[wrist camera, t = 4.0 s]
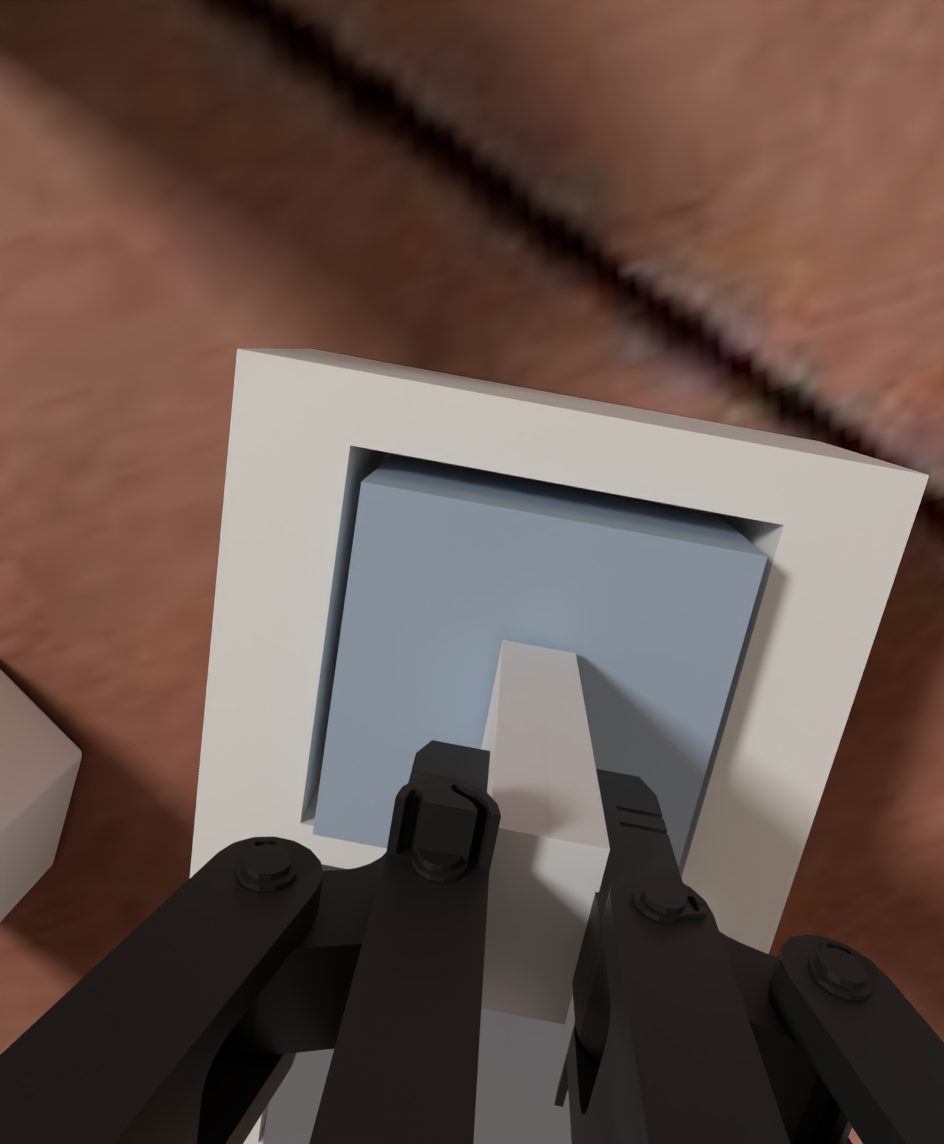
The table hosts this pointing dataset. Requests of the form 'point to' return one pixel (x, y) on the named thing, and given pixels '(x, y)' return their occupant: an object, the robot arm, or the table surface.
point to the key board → (563, 458)
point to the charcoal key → (504, 1084)
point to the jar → (30, 791)
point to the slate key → (529, 630)
